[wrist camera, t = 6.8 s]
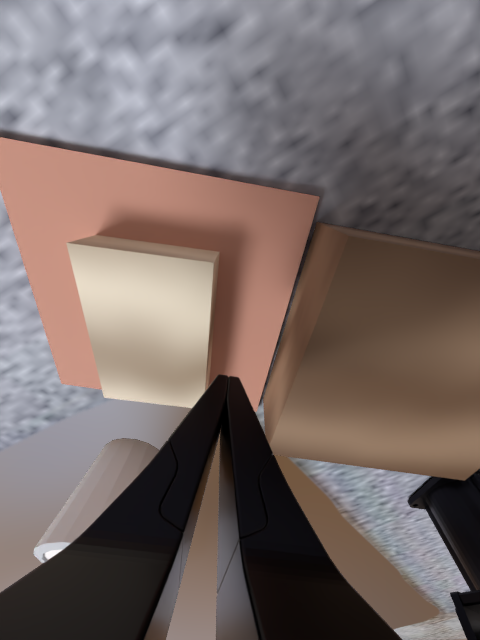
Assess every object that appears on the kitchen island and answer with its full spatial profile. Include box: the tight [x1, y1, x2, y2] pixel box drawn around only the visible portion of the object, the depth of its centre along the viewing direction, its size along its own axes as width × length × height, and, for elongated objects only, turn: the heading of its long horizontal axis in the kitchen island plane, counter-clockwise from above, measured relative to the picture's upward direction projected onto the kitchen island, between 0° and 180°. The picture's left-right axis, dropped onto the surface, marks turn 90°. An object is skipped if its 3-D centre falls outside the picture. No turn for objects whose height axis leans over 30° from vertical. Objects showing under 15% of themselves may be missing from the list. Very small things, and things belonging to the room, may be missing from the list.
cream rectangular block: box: [66, 235, 220, 408], centre depth 12 cm, size 9×6×2 cm, turn 173°
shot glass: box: [34, 438, 159, 563], centre depth 18 cm, size 7×7×7 cm
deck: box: [263, 222, 480, 481], centre depth 12 cm, size 12×12×4 cm
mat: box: [0, 137, 319, 412], centre depth 13 cm, size 14×14×1 cm
